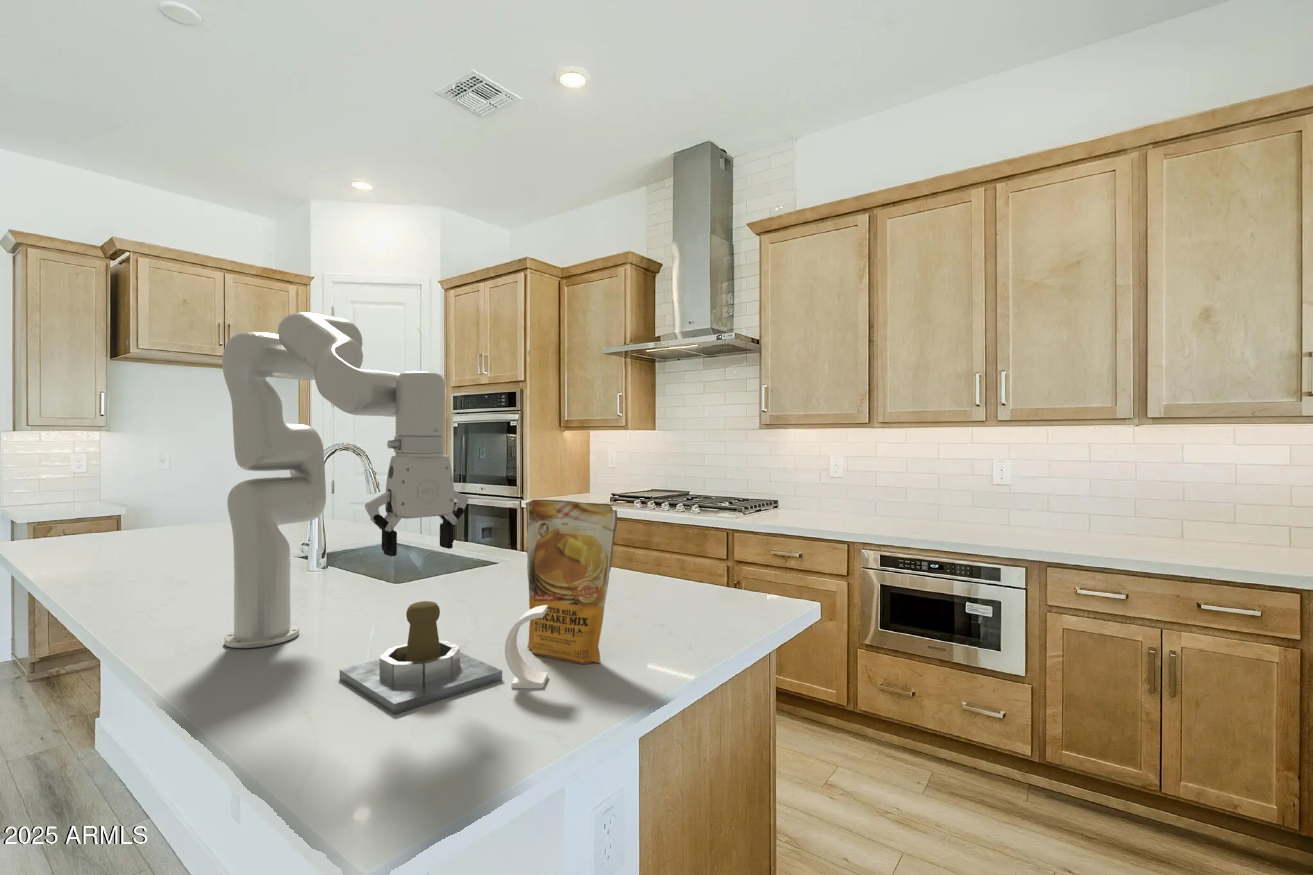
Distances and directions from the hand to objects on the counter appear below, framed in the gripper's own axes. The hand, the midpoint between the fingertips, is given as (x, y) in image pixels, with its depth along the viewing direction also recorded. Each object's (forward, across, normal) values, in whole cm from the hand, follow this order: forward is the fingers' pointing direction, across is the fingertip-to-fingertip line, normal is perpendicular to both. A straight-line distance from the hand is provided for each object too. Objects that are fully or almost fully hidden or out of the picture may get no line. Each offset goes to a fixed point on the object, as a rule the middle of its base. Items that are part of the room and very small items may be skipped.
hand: (419, 551), depth 106 cm
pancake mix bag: (+21, +24, -9) cm, 33 cm away
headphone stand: (+21, +11, -15) cm, 28 cm away
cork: (+20, +1, -1) cm, 20 cm away
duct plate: (+21, 0, -1) cm, 21 cm away
